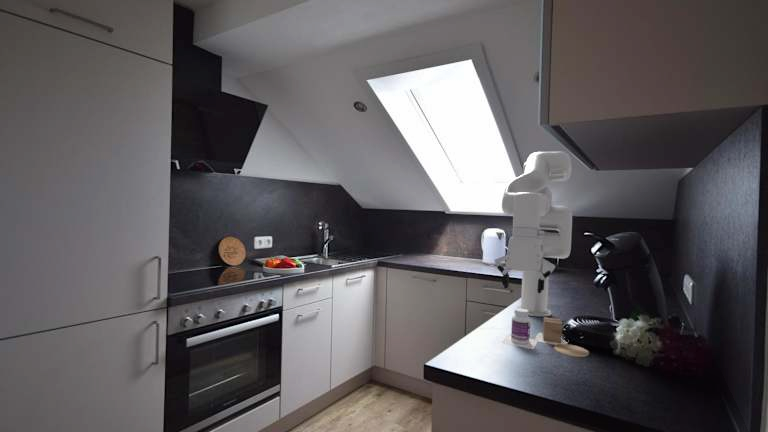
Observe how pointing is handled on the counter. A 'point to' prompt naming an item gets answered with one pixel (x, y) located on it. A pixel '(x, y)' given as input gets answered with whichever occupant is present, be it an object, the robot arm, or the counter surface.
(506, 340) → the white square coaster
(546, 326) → the walnut block
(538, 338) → the tile block
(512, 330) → the pill bottle
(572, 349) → the cork coaster
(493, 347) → the counter surface
